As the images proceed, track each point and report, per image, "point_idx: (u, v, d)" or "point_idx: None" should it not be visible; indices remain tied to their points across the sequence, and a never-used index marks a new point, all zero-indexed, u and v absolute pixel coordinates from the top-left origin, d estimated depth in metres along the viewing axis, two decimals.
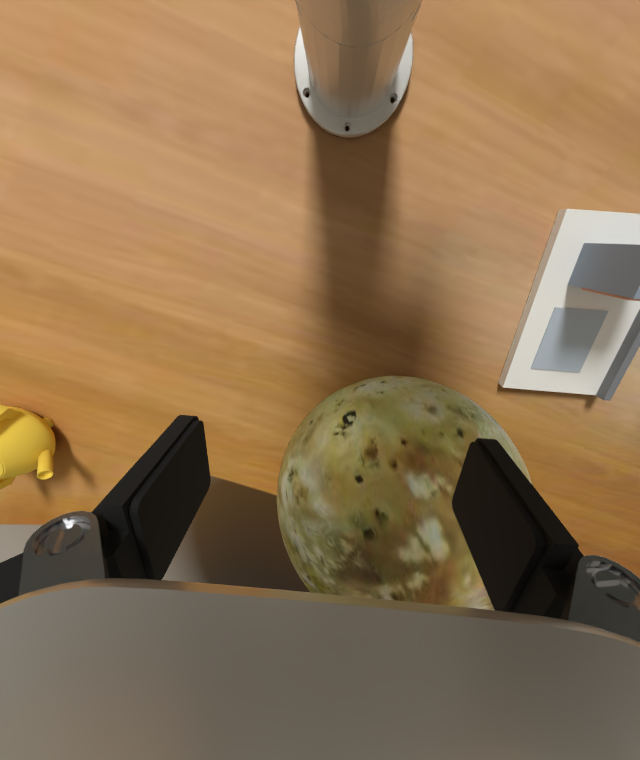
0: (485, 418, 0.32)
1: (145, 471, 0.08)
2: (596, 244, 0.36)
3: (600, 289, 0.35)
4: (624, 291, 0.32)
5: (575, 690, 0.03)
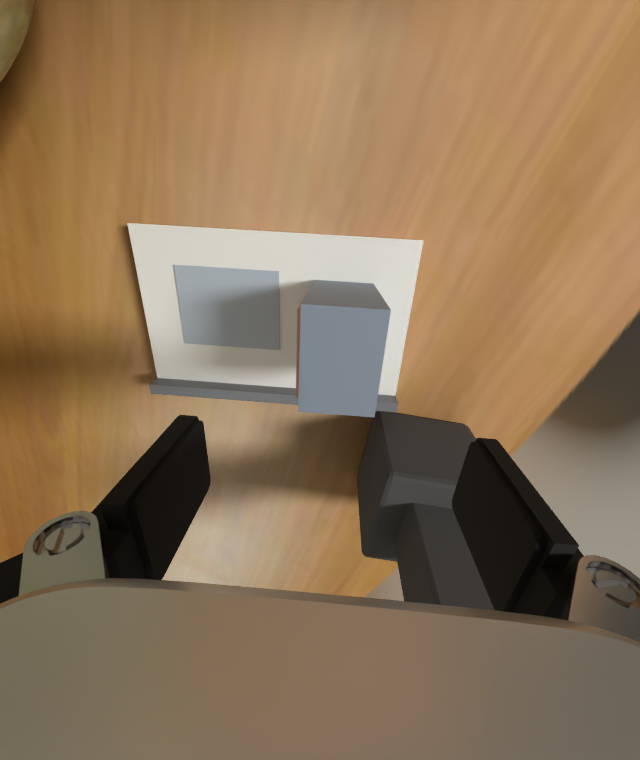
0: None
1: (145, 471, 0.08)
2: (374, 287, 0.24)
3: (311, 290, 0.21)
4: (311, 299, 0.18)
5: (575, 690, 0.03)
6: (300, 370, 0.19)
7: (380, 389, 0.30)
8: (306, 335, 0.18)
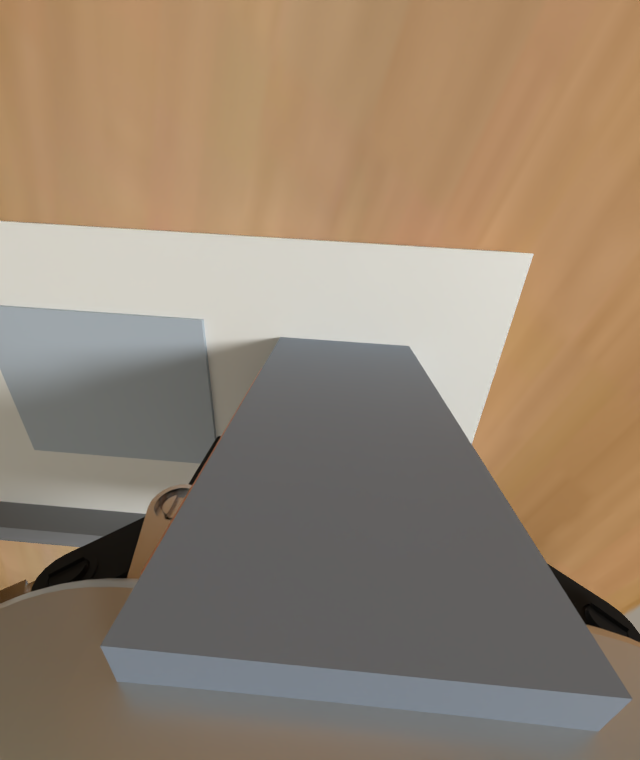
0: None
1: None
2: (418, 367, 0.10)
3: (247, 409, 0.07)
4: (206, 528, 0.04)
5: None
6: None
7: None
8: None
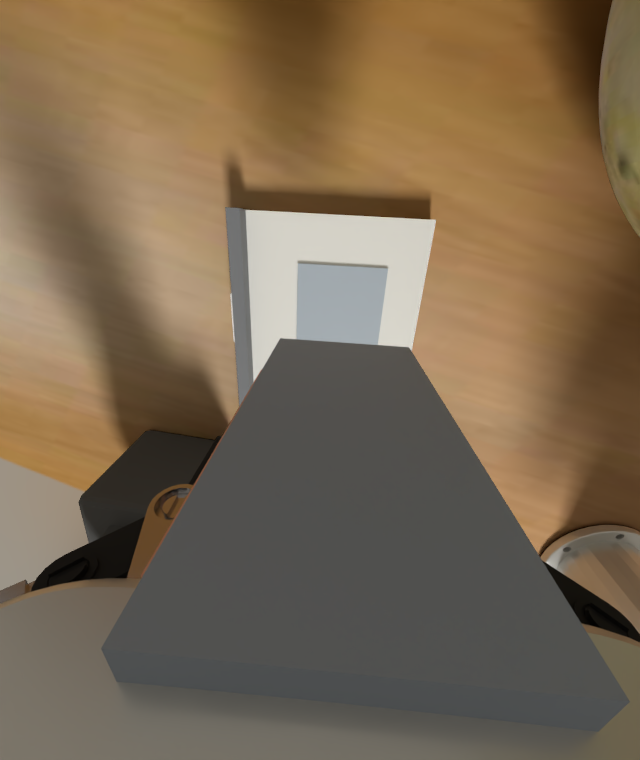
0: None
1: None
2: (418, 368, 0.10)
3: (247, 411, 0.07)
4: (206, 530, 0.04)
5: None
6: None
7: None
8: None
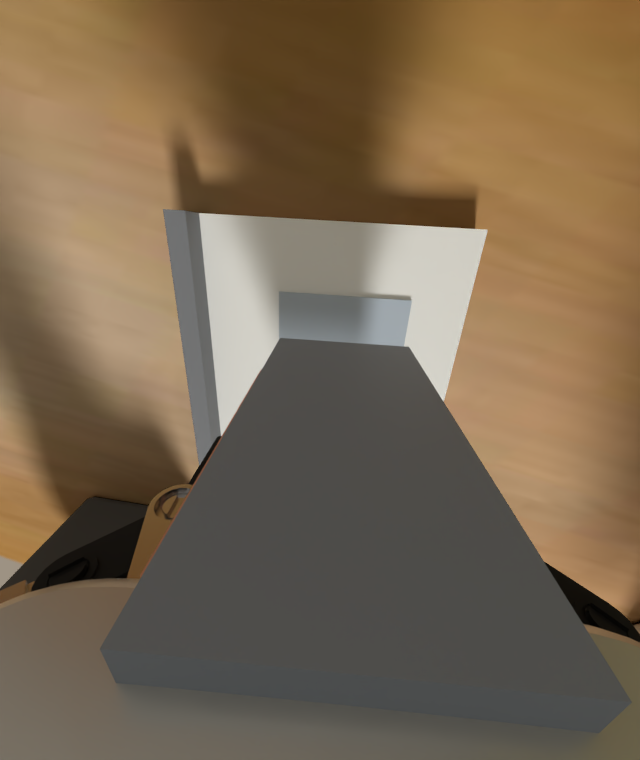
0: None
1: None
2: (418, 368, 0.10)
3: (247, 411, 0.07)
4: (205, 530, 0.04)
5: None
6: None
7: None
8: None
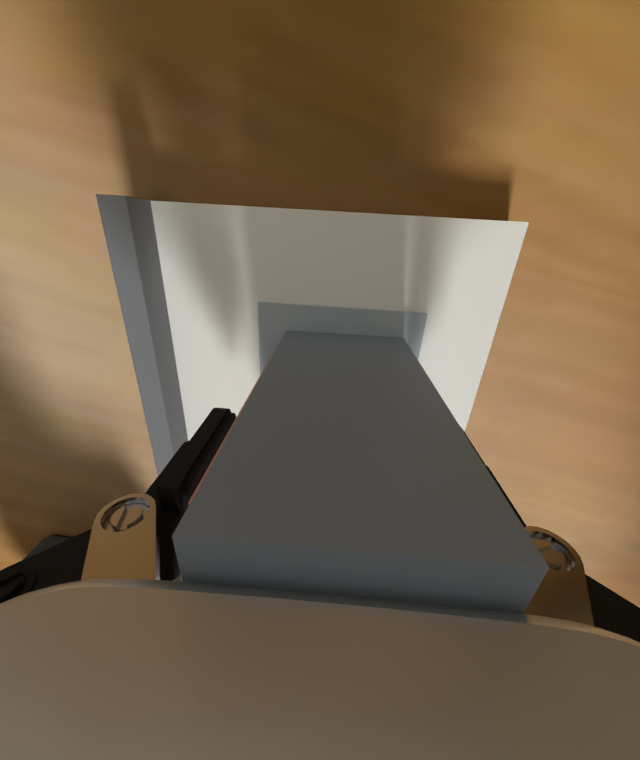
0: None
1: (192, 457, 0.08)
2: (411, 355, 0.11)
3: (262, 388, 0.08)
4: (238, 469, 0.05)
5: (575, 690, 0.03)
6: None
7: None
8: None
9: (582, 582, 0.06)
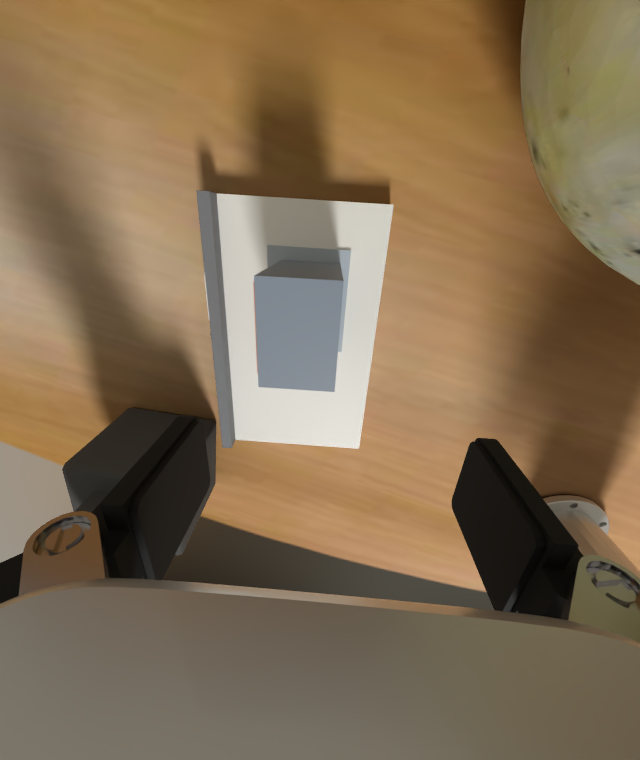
0: None
1: (145, 471, 0.08)
2: (339, 266, 0.24)
3: (272, 267, 0.21)
4: (267, 273, 0.18)
5: (575, 690, 0.03)
6: (258, 344, 0.19)
7: (239, 428, 0.34)
8: (261, 308, 0.18)
9: None
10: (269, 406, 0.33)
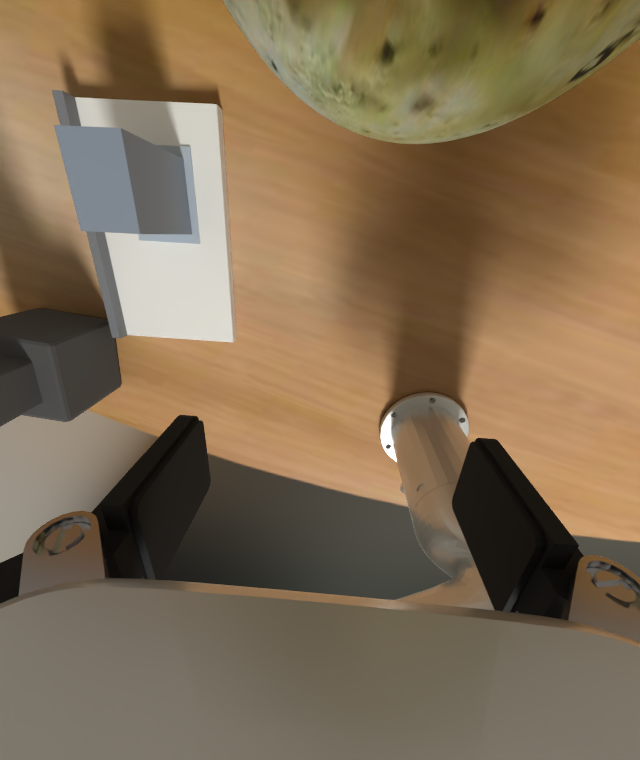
0: (304, 78, 0.17)
1: (145, 471, 0.08)
2: (171, 153, 0.30)
3: None
4: None
5: (575, 690, 0.03)
6: (71, 189, 0.24)
7: (129, 323, 0.40)
8: (66, 155, 0.23)
9: None
10: (150, 300, 0.38)
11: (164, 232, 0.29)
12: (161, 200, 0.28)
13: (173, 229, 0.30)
